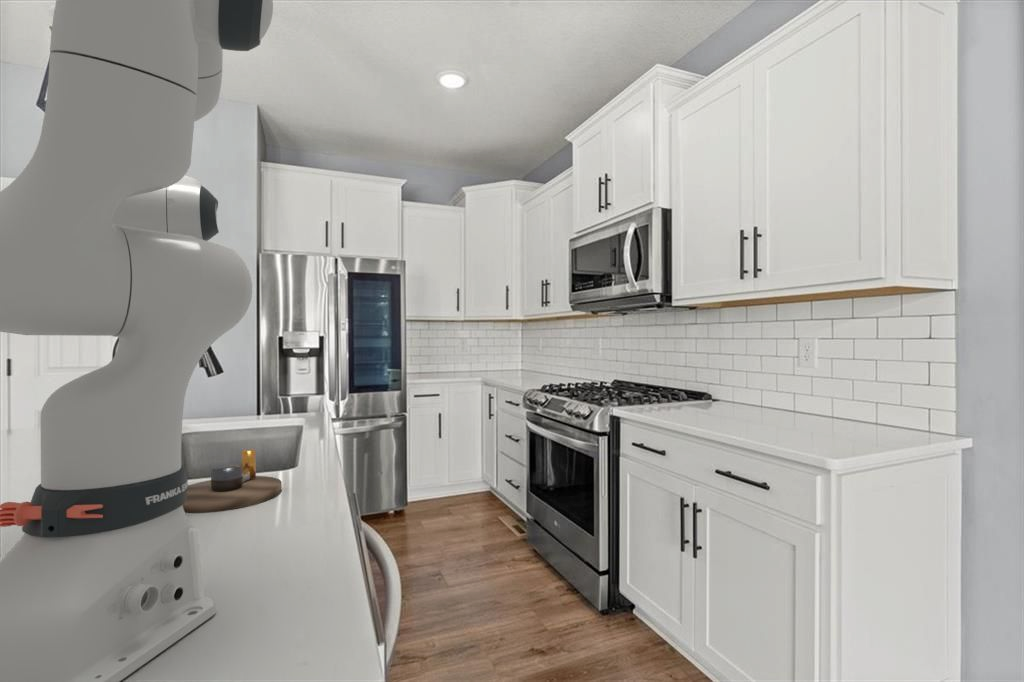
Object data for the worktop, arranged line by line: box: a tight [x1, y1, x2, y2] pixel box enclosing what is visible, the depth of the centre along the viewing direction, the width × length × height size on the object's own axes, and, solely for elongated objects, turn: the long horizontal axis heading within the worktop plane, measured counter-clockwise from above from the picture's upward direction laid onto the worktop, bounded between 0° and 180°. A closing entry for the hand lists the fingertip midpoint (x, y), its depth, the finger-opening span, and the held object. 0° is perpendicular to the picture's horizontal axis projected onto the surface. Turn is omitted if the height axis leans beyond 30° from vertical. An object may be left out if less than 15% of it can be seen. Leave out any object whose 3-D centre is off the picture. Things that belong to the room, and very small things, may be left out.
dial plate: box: [183, 475, 283, 514], centre depth 94 cm, size 18×18×2 cm
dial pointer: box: [210, 448, 257, 491], centre depth 97 cm, size 10×5×5 cm, turn 174°
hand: (181, 348), depth 92 cm, fingers closed
